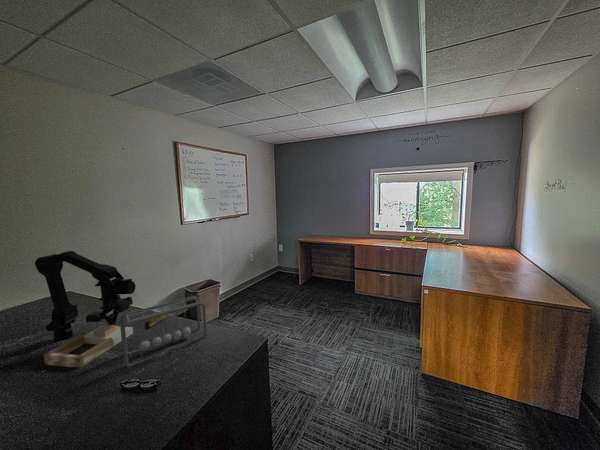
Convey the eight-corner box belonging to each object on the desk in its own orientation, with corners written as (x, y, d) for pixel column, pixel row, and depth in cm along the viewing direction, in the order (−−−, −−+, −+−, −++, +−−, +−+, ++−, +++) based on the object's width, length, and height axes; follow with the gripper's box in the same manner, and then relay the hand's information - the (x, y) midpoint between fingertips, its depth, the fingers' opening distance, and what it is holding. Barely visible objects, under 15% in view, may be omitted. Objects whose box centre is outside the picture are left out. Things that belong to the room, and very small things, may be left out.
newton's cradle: (125, 370, 89) (120, 324, 87) (123, 356, 97) (119, 314, 95) (207, 339, 108) (205, 301, 106) (200, 330, 116) (198, 294, 114)
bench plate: (82, 343, 107) (81, 336, 107) (103, 331, 117) (103, 325, 116) (114, 345, 104) (113, 339, 104) (133, 333, 114) (132, 327, 114)
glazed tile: (94, 336, 107) (93, 330, 106) (105, 329, 112) (105, 324, 112) (105, 337, 106) (104, 331, 106) (116, 330, 111) (115, 325, 111)
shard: (149, 328, 118) (149, 324, 118) (136, 326, 120) (136, 322, 120) (167, 318, 128) (166, 314, 128) (155, 316, 130) (155, 313, 130)
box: (44, 364, 93) (43, 354, 93) (81, 343, 106) (80, 335, 106) (80, 368, 91) (79, 358, 90) (113, 346, 104) (112, 337, 104)
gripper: (106, 304, 101) (110, 339, 102) (141, 287, 119) (144, 317, 121) (82, 302, 102) (87, 337, 104) (121, 286, 121) (124, 316, 122)
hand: (113, 326), depth 113 cm, fingers closed
